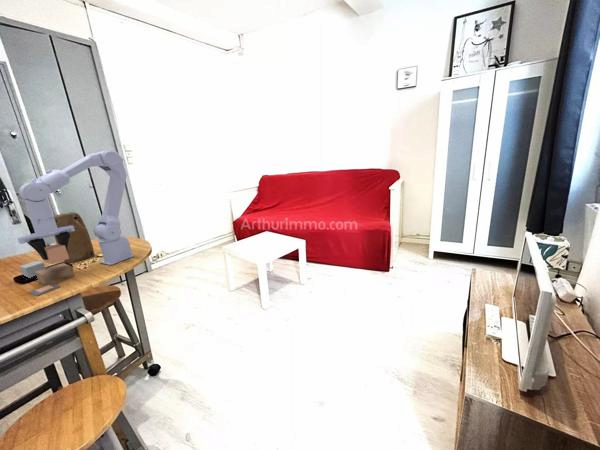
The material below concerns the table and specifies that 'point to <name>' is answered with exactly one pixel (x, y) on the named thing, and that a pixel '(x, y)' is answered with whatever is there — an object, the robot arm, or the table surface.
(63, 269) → the walnut base
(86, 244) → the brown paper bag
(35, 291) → the card
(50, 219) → the robot arm
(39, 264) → the grey cube
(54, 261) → the terracotta cube
